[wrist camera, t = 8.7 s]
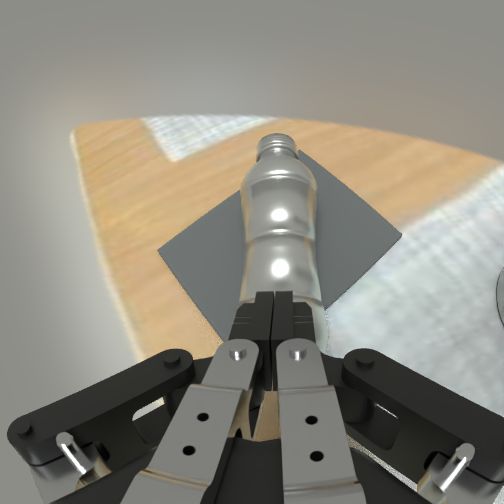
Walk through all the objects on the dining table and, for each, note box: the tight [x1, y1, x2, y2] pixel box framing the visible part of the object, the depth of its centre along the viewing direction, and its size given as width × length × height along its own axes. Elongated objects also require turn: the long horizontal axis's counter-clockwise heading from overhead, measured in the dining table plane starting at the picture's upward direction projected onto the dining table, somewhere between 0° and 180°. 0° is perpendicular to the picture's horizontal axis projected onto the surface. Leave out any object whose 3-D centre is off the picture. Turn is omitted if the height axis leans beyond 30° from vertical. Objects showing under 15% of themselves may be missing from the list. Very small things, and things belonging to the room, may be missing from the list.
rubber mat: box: [157, 150, 402, 342], centre depth 27 cm, size 18×14×1 cm
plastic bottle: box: [233, 133, 329, 354], centre depth 24 cm, size 6×7×20 cm
